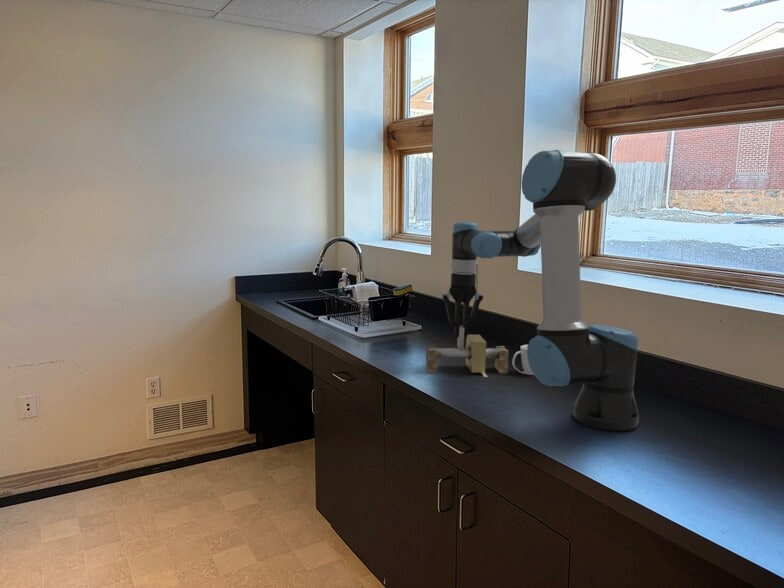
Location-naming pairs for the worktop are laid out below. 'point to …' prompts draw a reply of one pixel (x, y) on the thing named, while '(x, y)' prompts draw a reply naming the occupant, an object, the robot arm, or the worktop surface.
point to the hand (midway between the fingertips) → (460, 347)
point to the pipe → (464, 352)
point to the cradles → (500, 362)
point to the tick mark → (484, 374)
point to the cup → (523, 360)
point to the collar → (476, 353)
